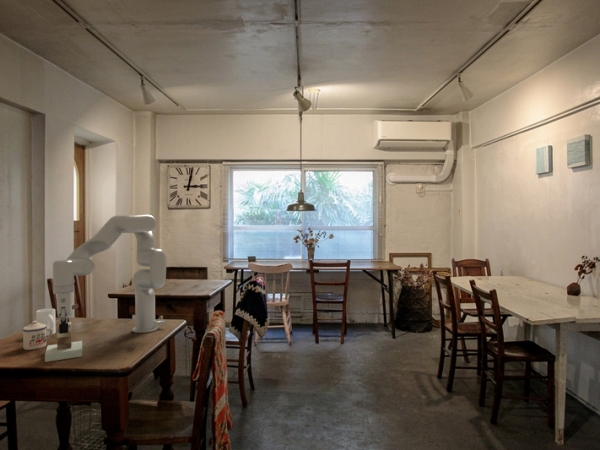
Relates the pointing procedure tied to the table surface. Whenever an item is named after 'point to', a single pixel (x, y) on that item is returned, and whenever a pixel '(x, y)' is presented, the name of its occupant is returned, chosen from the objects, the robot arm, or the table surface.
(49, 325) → the mug
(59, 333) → the ash block
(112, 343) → the table surface
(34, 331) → the teacup with lid
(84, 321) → the table surface
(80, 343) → the base board
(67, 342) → the walnut block
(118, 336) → the table surface
